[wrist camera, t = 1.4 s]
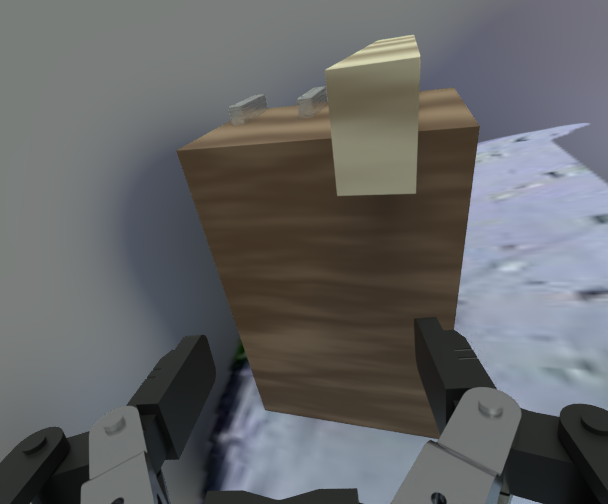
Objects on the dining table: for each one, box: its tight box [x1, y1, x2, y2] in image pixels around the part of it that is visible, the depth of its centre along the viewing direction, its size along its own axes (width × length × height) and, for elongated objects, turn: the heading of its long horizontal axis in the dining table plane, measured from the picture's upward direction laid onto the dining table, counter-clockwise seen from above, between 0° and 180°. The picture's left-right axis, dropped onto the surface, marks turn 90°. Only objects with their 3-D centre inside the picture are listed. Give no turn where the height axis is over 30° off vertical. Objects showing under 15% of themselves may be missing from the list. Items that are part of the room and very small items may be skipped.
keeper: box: [228, 87, 328, 126], centre depth 31 cm, size 6×7×2 cm
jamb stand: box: [177, 88, 480, 439], centre depth 36 cm, size 14×20×32 cm
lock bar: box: [325, 35, 421, 196], centre depth 21 cm, size 23×3×4 cm, turn 165°
